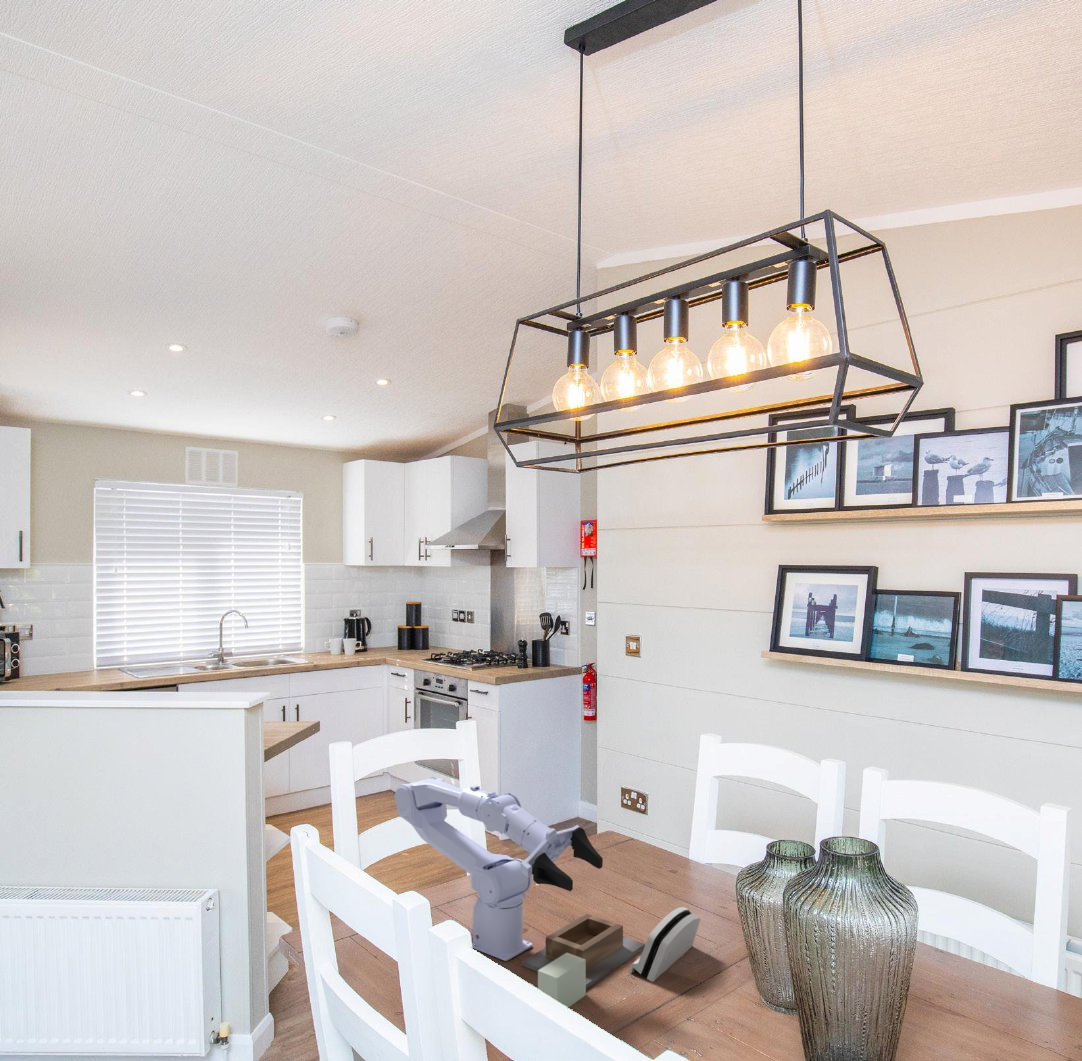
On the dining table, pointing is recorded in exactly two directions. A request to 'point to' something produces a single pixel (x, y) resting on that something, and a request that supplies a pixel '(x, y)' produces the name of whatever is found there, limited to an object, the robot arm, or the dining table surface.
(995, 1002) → the dining table surface
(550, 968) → the pale green block
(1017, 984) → the dining table surface
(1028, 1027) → the dining table surface
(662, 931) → the white black rounded slab
